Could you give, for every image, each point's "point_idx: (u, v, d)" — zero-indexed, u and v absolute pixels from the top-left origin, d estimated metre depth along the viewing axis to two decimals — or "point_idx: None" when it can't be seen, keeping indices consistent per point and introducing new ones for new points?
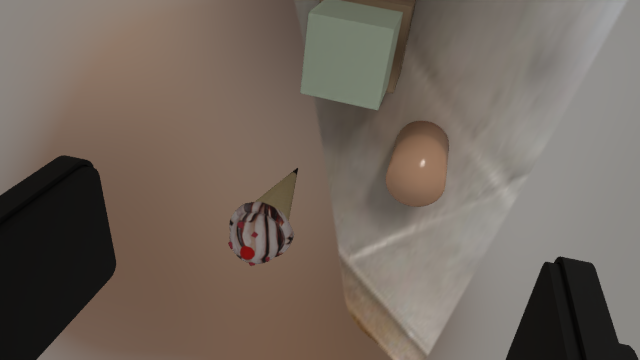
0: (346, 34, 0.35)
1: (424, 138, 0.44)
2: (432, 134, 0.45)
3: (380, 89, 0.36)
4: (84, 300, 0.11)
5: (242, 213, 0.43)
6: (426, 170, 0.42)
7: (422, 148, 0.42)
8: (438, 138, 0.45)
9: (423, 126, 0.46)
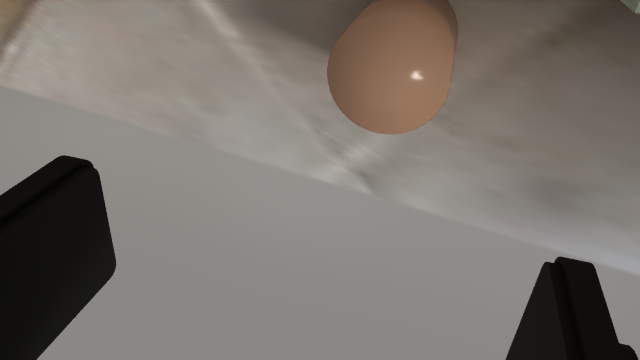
0: None
1: None
2: None
3: None
4: (84, 300, 0.11)
5: None
6: (417, 98, 0.20)
7: None
8: None
9: (456, 39, 0.24)
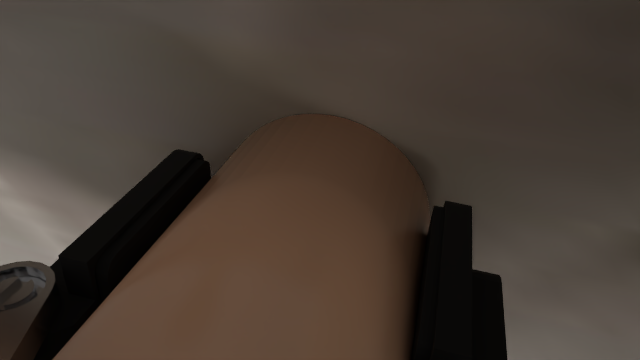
0: None
1: None
2: None
3: None
4: None
5: None
6: None
7: None
8: None
9: None
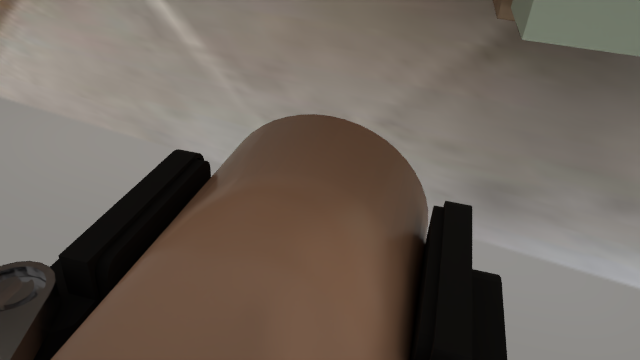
0: None
1: None
2: None
3: (574, 43, 0.16)
4: None
5: None
6: None
7: None
8: None
9: (423, 253, 0.10)
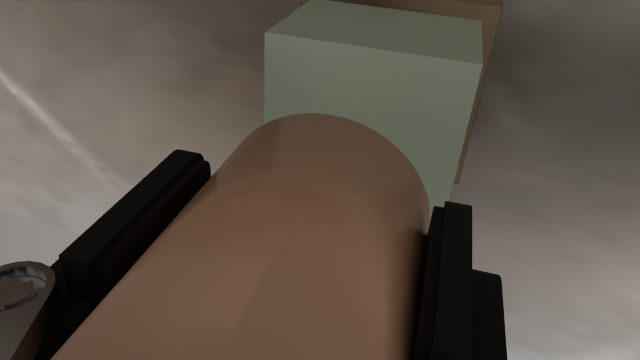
0: (424, 152, 0.15)
1: None
2: None
3: None
4: None
5: None
6: None
7: None
8: None
9: None
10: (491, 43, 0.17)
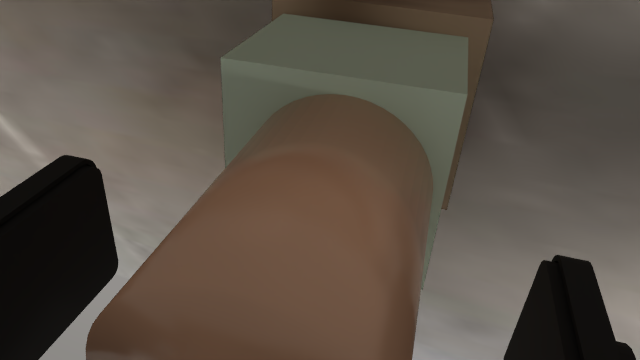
0: None
1: None
2: None
3: None
4: (86, 299, 0.11)
5: None
6: None
7: None
8: None
9: (429, 214, 0.12)
10: (481, 59, 0.16)
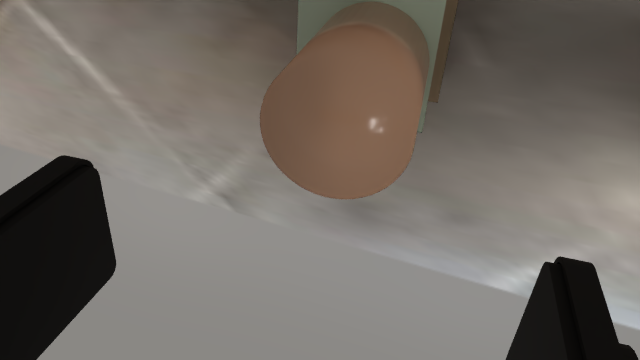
0: None
1: None
2: None
3: None
4: (84, 300, 0.11)
5: None
6: (376, 155, 0.16)
7: None
8: None
9: (427, 68, 0.20)
10: None
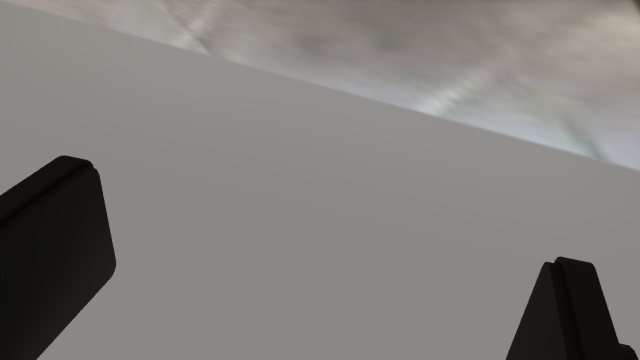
0: None
1: None
2: None
3: None
4: (84, 300, 0.11)
5: None
6: None
7: None
8: None
9: None
10: None
